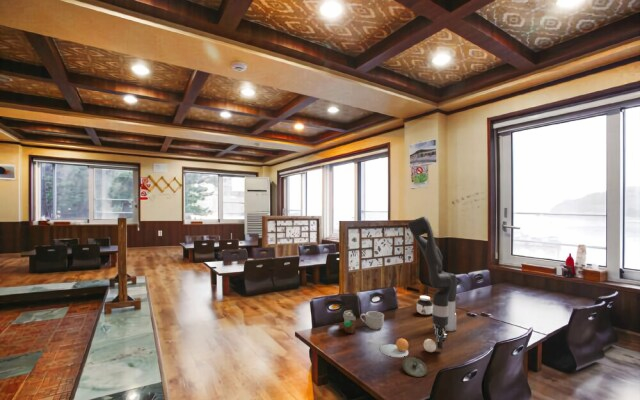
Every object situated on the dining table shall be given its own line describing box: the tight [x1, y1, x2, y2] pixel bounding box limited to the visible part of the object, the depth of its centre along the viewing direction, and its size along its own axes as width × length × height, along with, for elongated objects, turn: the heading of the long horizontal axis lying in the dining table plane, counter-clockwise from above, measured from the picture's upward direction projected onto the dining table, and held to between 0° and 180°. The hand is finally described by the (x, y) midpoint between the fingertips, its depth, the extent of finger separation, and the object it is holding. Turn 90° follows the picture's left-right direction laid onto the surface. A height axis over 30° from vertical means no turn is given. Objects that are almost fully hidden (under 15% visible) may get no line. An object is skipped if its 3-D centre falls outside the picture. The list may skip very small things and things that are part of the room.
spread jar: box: [416, 295, 433, 317], centre depth 215 cm, size 12×11×12 cm
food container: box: [342, 309, 357, 335], centre depth 181 cm, size 12×6×10 cm, turn 5°
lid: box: [401, 356, 428, 378], centre depth 137 cm, size 11×10×5 cm
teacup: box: [359, 310, 385, 330], centre depth 188 cm, size 14×11×8 cm
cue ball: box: [423, 338, 437, 353], centre depth 157 cm, size 6×6×6 cm
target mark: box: [379, 343, 409, 358], centre depth 157 cm, size 14×14×1 cm
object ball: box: [395, 337, 410, 351], centre depth 157 cm, size 6×6×6 cm
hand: (439, 348), depth 157 cm, fingers closed
